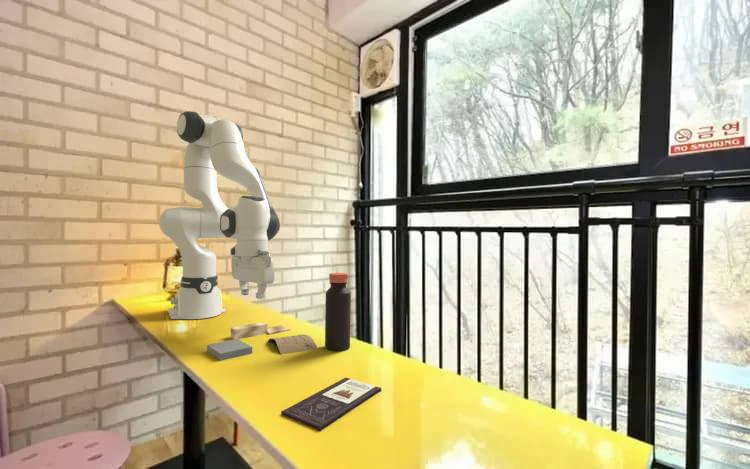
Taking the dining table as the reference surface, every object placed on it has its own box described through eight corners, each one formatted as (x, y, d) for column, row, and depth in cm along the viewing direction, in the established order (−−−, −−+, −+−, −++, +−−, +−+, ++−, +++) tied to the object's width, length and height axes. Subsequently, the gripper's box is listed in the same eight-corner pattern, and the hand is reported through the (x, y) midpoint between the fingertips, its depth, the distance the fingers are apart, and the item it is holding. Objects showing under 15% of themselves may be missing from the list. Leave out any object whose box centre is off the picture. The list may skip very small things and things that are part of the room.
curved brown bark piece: (266, 342, 104) (266, 333, 104) (300, 337, 110) (300, 328, 110) (282, 358, 92) (282, 348, 92) (319, 352, 97) (319, 342, 97)
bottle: (355, 347, 100) (356, 274, 99) (336, 353, 95) (337, 276, 95) (338, 341, 104) (339, 271, 104) (319, 347, 99) (320, 273, 99)
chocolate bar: (281, 411, 63) (345, 377, 78) (281, 417, 63) (345, 381, 78) (320, 427, 58) (381, 387, 73) (320, 433, 58) (381, 392, 73)
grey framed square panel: (207, 344, 95) (220, 353, 88) (237, 338, 100) (252, 346, 94) (206, 352, 95) (220, 362, 88) (237, 346, 100) (252, 355, 94)
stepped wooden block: (236, 341, 104) (236, 330, 104) (228, 336, 108) (228, 326, 108) (290, 330, 115) (290, 321, 115) (280, 327, 120) (281, 317, 120)
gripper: (280, 250, 104) (280, 299, 104) (247, 249, 118) (246, 292, 118) (259, 251, 100) (259, 302, 99) (227, 249, 114) (227, 294, 114)
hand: (252, 296), depth 109 cm, fingers open, 8 cm apart
